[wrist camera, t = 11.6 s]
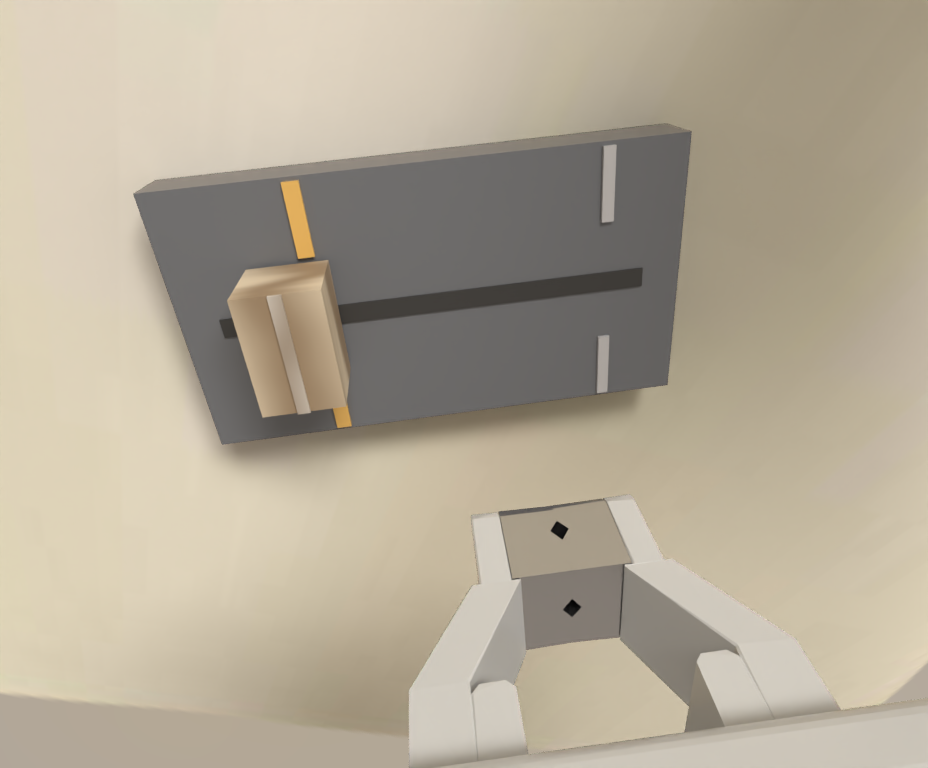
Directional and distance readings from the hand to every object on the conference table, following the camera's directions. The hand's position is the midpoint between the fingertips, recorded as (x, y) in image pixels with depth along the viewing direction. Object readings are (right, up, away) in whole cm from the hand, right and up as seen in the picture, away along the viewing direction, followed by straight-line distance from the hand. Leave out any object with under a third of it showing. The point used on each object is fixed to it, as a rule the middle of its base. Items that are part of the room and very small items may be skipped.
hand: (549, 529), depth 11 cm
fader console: (-3, +8, +23) cm, 25 cm away
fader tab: (-10, +6, +20) cm, 23 cm away
